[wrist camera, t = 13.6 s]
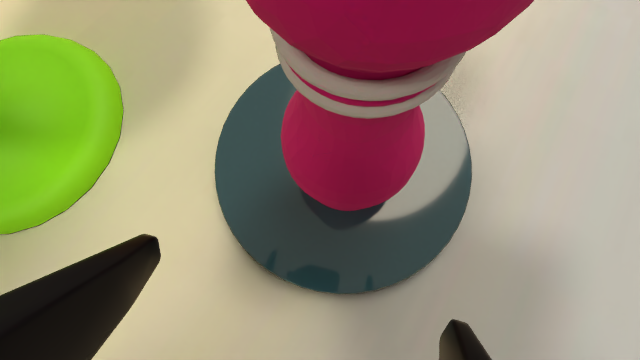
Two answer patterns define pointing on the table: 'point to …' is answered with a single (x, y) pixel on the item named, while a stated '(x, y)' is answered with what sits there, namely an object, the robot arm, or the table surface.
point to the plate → (330, 224)
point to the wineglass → (52, 126)
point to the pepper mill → (368, 85)
